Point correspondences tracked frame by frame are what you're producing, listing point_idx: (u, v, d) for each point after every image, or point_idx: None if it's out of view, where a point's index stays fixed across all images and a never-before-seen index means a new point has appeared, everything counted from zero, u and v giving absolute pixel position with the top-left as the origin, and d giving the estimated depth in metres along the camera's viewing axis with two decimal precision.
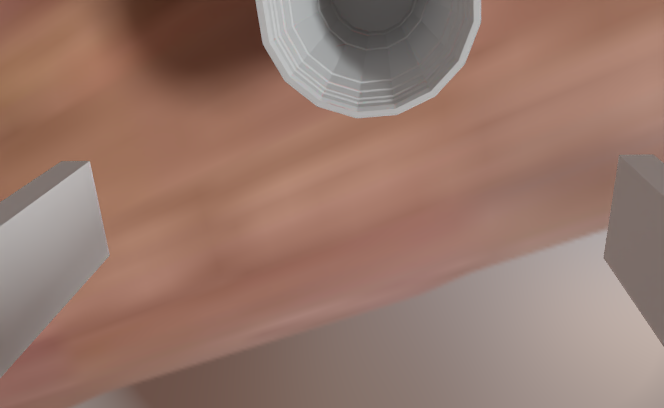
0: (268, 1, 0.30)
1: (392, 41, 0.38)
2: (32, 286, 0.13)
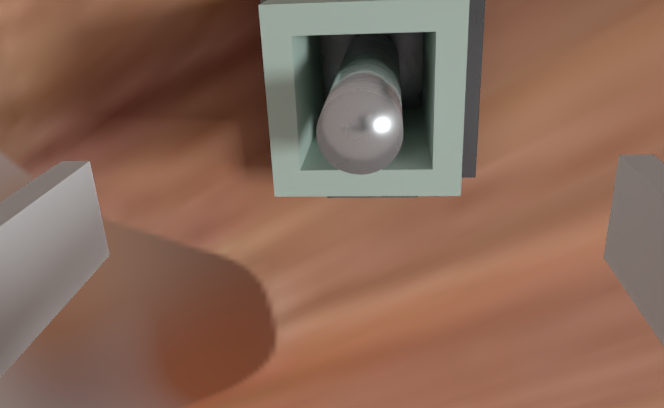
0: None
1: None
2: (32, 286, 0.13)
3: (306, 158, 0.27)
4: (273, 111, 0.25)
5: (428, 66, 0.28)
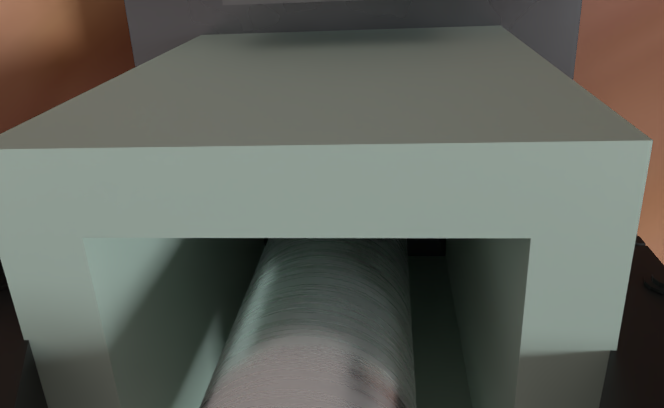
0: None
1: None
2: None
3: None
4: None
5: None
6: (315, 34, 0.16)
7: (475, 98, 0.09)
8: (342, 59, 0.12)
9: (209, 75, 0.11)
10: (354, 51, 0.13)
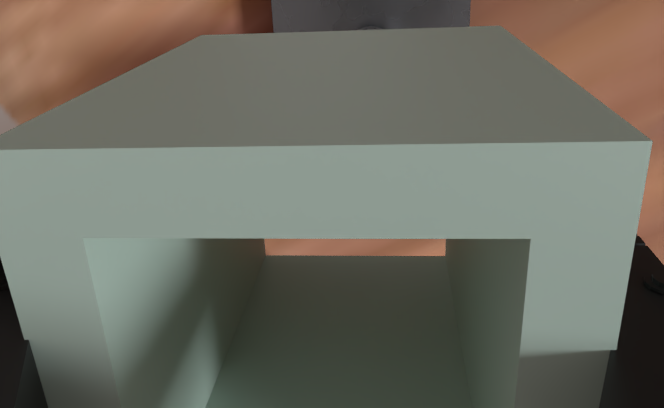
0: None
1: None
2: None
3: None
4: None
5: None
6: (315, 34, 0.16)
7: (475, 99, 0.09)
8: (342, 60, 0.12)
9: (209, 76, 0.11)
10: (354, 52, 0.13)
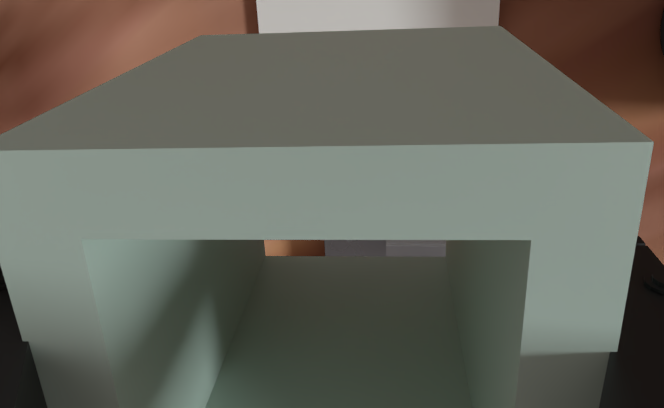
0: None
1: None
2: None
3: None
4: None
5: None
6: (315, 34, 0.16)
7: (475, 99, 0.09)
8: (342, 60, 0.12)
9: (209, 76, 0.11)
10: (354, 52, 0.13)
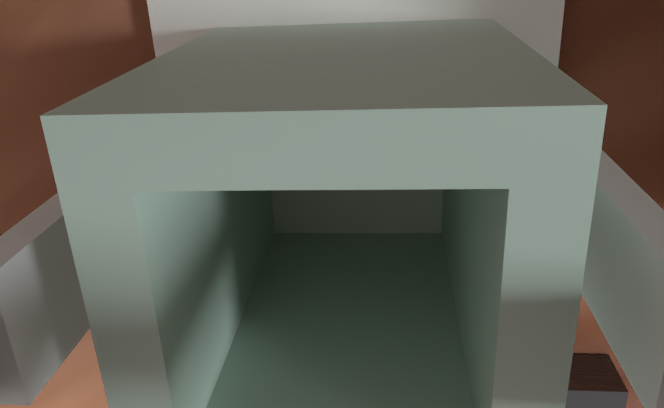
0: None
1: None
2: None
3: None
4: (109, 351, 0.10)
5: (465, 203, 0.14)
6: (322, 26, 0.17)
7: (464, 76, 0.10)
8: (348, 47, 0.14)
9: (231, 60, 0.13)
10: (359, 40, 0.14)
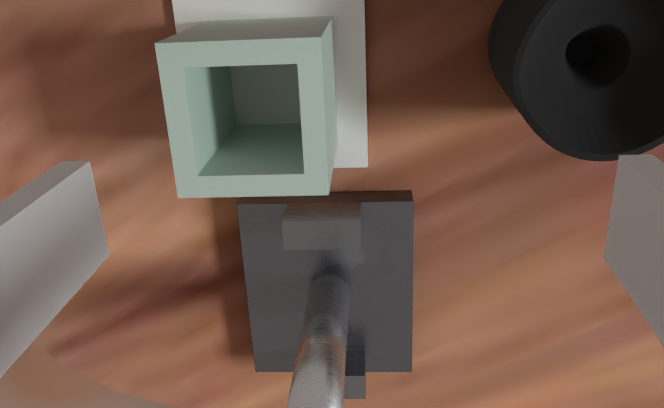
0: None
1: None
2: (32, 286, 0.13)
3: (206, 166, 0.33)
4: (172, 128, 0.31)
5: None
6: (255, 19, 0.37)
7: (291, 32, 0.30)
8: (260, 26, 0.34)
9: (213, 30, 0.33)
10: (266, 24, 0.35)
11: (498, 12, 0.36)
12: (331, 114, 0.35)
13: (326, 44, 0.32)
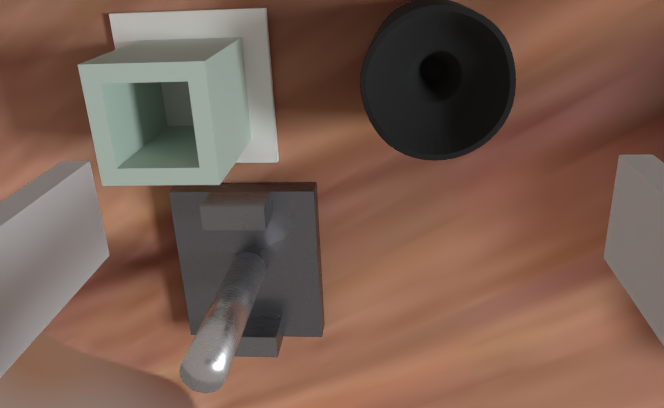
0: None
1: None
2: (32, 286, 0.13)
3: (126, 160, 0.41)
4: (94, 130, 0.39)
5: None
6: (177, 40, 0.46)
7: (188, 55, 0.39)
8: (173, 48, 0.42)
9: (133, 52, 0.41)
10: (180, 45, 0.43)
11: None
12: (232, 119, 0.43)
13: (220, 64, 0.40)
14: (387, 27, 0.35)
